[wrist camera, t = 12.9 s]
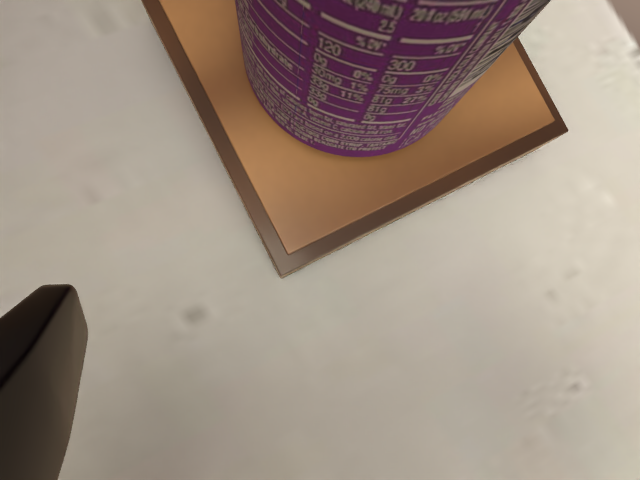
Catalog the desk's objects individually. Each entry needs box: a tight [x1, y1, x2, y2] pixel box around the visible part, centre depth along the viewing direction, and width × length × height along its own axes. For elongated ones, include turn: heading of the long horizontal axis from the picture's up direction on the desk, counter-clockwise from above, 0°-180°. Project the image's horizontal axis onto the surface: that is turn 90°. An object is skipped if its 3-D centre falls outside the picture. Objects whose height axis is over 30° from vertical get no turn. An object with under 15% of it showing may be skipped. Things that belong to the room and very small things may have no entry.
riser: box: [141, 0, 568, 278], centre depth 20 cm, size 11×11×3 cm
